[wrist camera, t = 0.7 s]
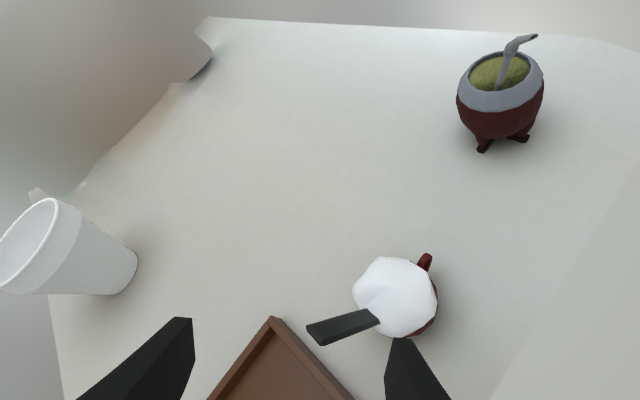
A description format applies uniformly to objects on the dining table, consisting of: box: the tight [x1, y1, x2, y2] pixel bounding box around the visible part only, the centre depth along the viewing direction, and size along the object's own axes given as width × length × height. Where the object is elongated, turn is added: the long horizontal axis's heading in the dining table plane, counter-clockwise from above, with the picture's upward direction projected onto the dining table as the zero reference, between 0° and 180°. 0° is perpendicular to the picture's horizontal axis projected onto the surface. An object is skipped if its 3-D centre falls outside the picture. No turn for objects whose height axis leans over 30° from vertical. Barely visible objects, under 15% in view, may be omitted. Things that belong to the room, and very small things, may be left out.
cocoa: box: [306, 253, 438, 346], centre depth 24 cm, size 10×6×12 cm, turn 111°
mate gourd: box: [456, 34, 544, 153], centre depth 27 cm, size 8×8×15 cm
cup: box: [0, 198, 138, 296], centre depth 44 cm, size 12×12×14 cm
